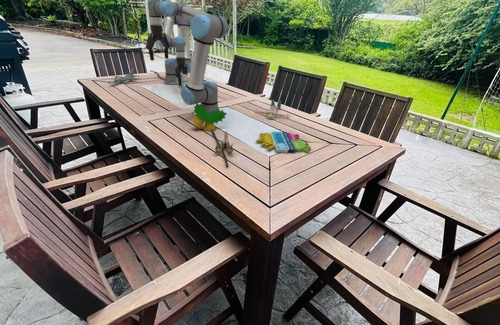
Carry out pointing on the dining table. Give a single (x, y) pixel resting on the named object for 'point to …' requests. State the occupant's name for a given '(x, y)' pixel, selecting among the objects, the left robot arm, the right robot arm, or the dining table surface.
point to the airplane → (124, 78)
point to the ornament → (207, 117)
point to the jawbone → (224, 145)
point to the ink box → (182, 81)
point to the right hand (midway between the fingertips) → (159, 59)
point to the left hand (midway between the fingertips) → (182, 85)
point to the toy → (272, 110)
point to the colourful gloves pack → (283, 142)
